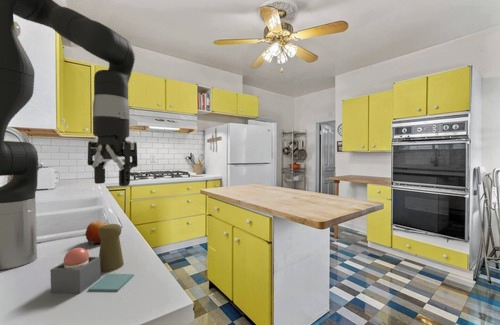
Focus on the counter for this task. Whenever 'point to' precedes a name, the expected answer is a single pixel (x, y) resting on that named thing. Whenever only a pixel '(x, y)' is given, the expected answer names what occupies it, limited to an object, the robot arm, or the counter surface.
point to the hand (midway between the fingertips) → (111, 184)
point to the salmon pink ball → (76, 258)
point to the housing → (75, 277)
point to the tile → (111, 282)
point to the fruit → (94, 232)
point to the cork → (110, 248)
